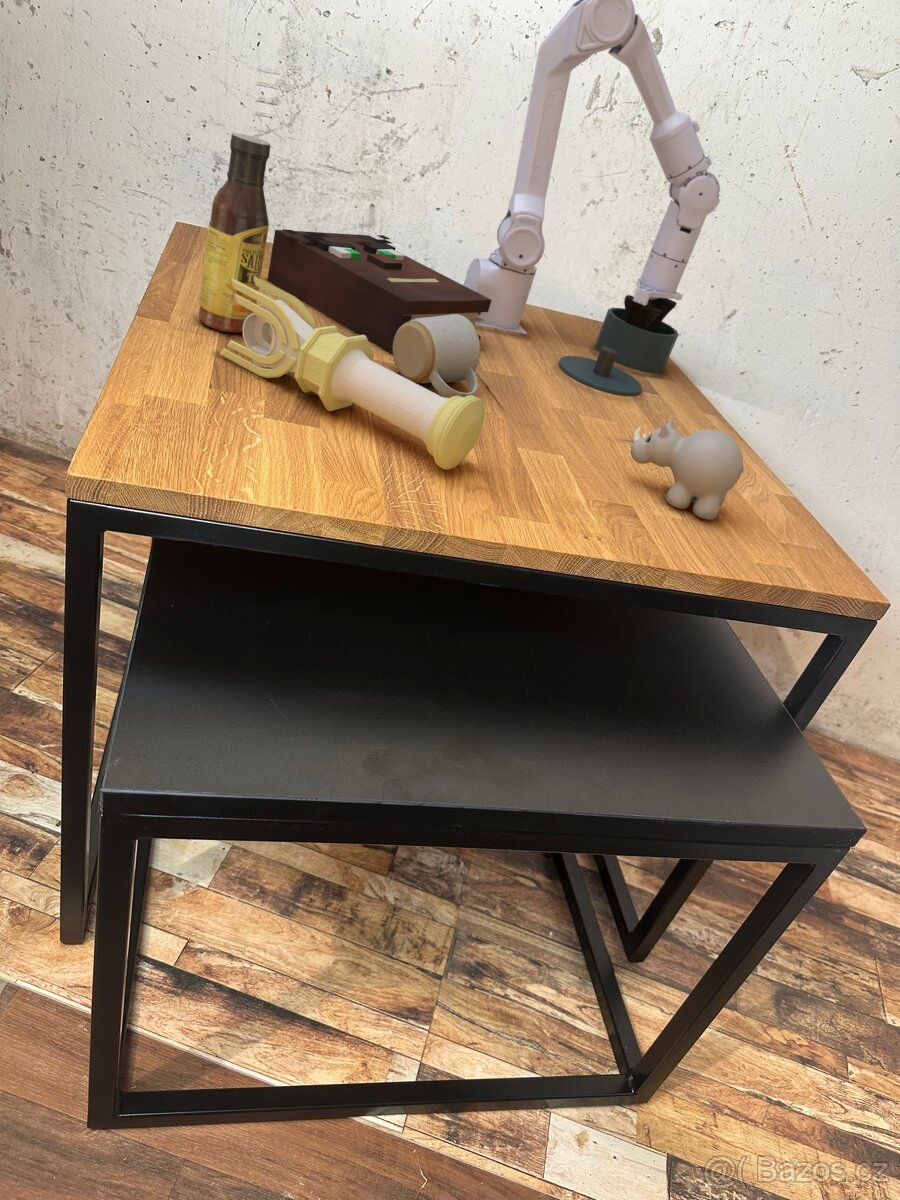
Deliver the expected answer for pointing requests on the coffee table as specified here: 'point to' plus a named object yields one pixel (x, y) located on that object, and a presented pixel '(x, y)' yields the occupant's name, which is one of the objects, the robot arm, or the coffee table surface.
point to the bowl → (636, 342)
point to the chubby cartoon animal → (693, 465)
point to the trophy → (350, 374)
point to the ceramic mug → (438, 352)
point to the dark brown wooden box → (366, 283)
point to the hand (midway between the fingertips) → (634, 344)
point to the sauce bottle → (235, 236)
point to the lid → (601, 373)
